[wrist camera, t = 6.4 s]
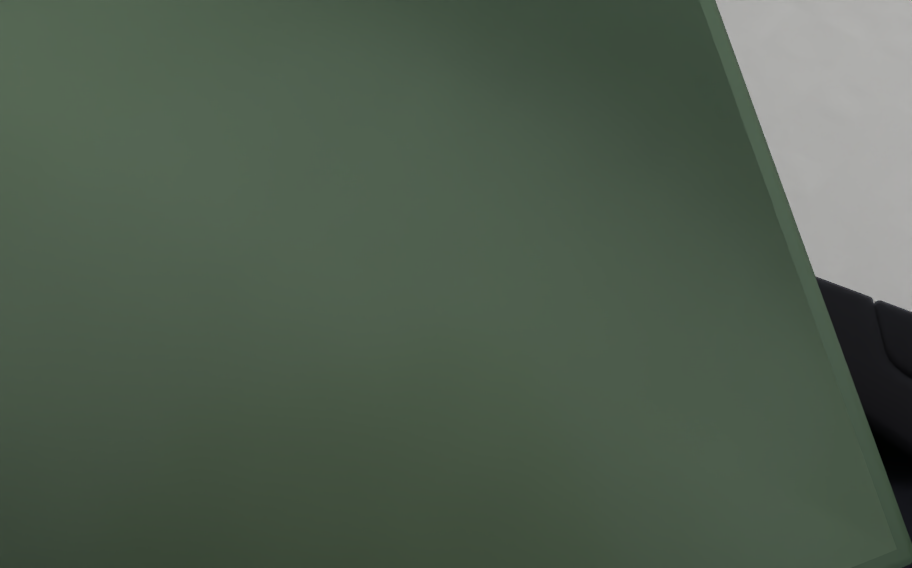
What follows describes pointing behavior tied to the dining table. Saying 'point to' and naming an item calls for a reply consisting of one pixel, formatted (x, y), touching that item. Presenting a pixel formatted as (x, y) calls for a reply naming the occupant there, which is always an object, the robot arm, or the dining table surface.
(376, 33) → the small box
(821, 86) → the dining table surface
